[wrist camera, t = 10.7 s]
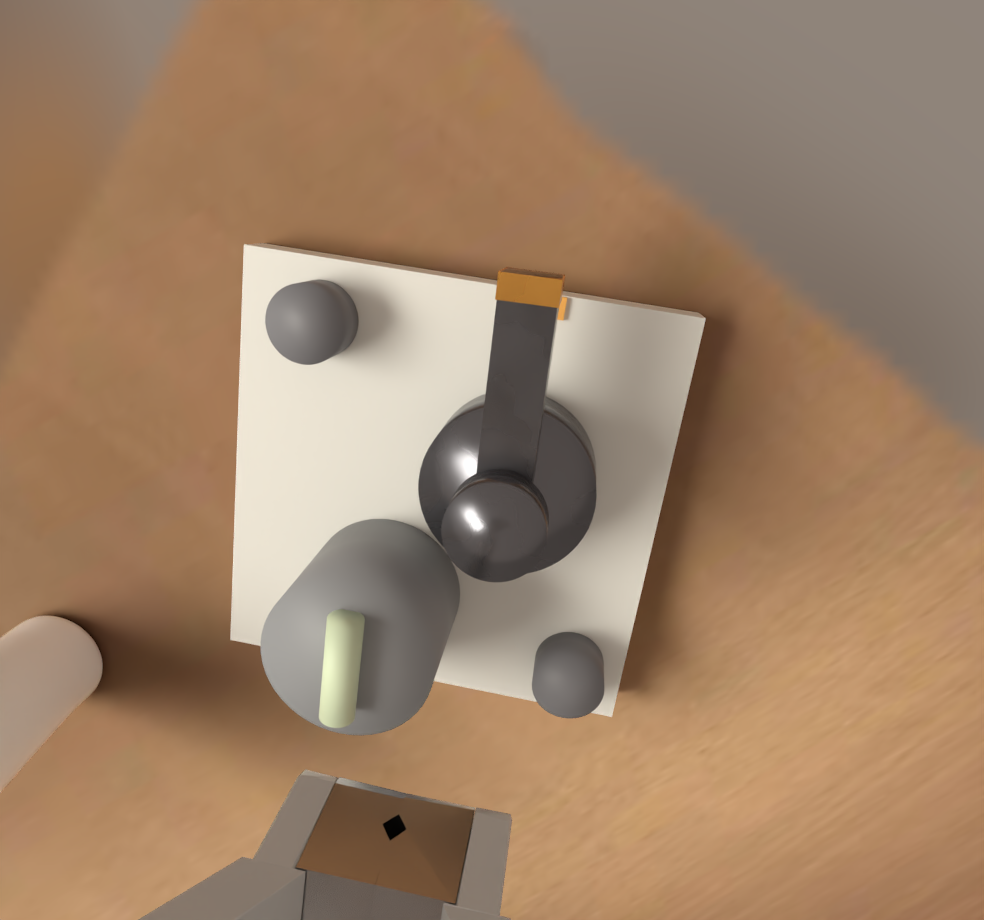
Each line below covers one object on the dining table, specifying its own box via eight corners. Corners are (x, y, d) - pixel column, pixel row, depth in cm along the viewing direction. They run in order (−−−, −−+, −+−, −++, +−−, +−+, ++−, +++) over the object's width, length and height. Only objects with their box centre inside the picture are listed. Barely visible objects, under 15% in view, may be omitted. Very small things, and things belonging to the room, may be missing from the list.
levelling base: (610, 691, 37) (617, 837, 28) (248, 619, 38) (146, 736, 30) (698, 312, 31) (742, 347, 22) (264, 243, 32) (142, 250, 24)
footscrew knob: (582, 556, 32) (580, 641, 26) (426, 530, 33) (385, 607, 26) (630, 278, 29) (642, 294, 22) (453, 255, 29) (413, 264, 23)
